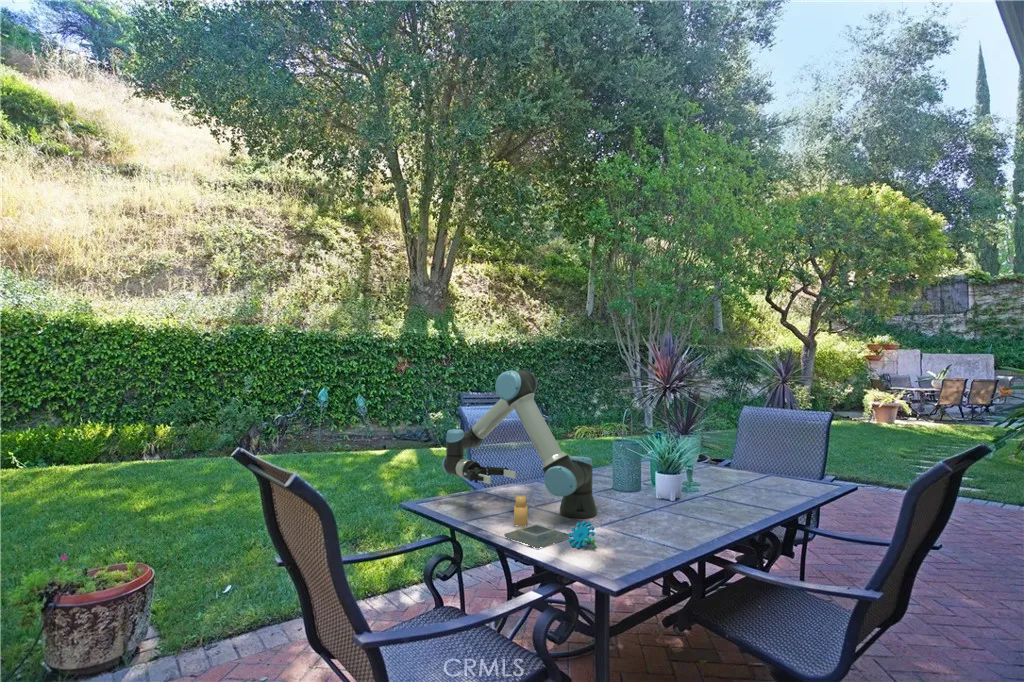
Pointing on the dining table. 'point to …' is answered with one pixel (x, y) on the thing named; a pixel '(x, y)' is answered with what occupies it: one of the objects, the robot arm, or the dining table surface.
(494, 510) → the dining table surface
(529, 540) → the junction box
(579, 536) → the gear
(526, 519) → the stacked tan cylinders
